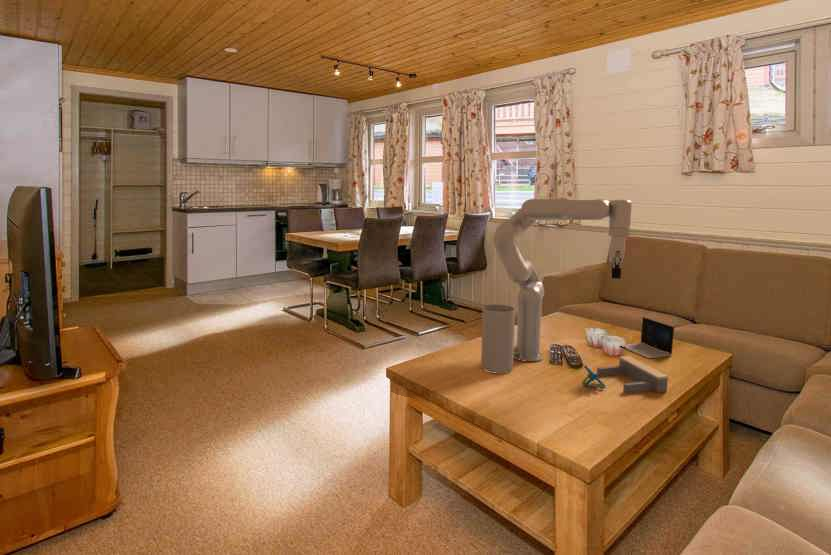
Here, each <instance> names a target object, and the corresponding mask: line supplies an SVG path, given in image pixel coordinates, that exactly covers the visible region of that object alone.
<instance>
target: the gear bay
mask: <svg viewBox="0 0 831 555" xmlns="http://www.w3.org/2000/svg"><path fill="white" fill-rule="evenodd" d="M596 369H597V370H596V374H597V375H598V376H597V377H607V376H617V375H626V376H627V377H629V378H631V379H632V380H634V381H636V382H628V383H623V390H622V392H623V393H625V394H633V393H642V392H643V393H644V392H650V391H653V392H655V393H656V392H658V393H666V392H665V391H667V392H668V390H667V389H668V381H669V380H668V379H669V375H667V374H665V373H663V372H661V371H659V370H658V369H656V368H654V367H651V366H649V365H648V364H645V363H644V362H642V361H640V360H637V359H636V358H635V357H632V356H629V355H624V356H619V365H613V366H602V367H601V366H600V367H597V368H596Z"/></svg>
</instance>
